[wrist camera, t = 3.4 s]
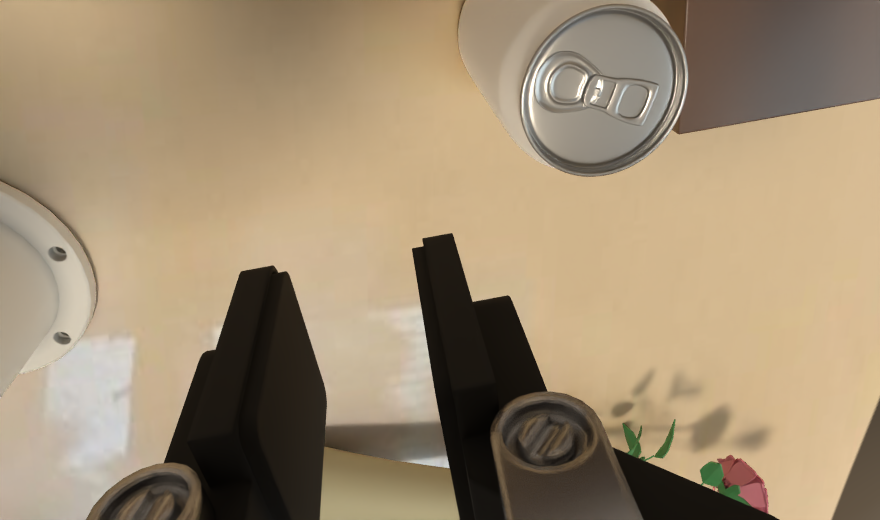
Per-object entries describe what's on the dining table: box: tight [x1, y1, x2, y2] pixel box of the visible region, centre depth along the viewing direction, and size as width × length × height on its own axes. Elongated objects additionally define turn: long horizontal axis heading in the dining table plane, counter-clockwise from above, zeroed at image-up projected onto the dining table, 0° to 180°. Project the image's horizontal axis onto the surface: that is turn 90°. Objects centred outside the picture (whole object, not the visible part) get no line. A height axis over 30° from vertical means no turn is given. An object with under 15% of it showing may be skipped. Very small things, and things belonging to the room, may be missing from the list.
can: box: [458, 0, 688, 177], centre depth 25 cm, size 6×6×12 cm
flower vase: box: [320, 419, 768, 520], centre depth 42 cm, size 12×12×35 cm
